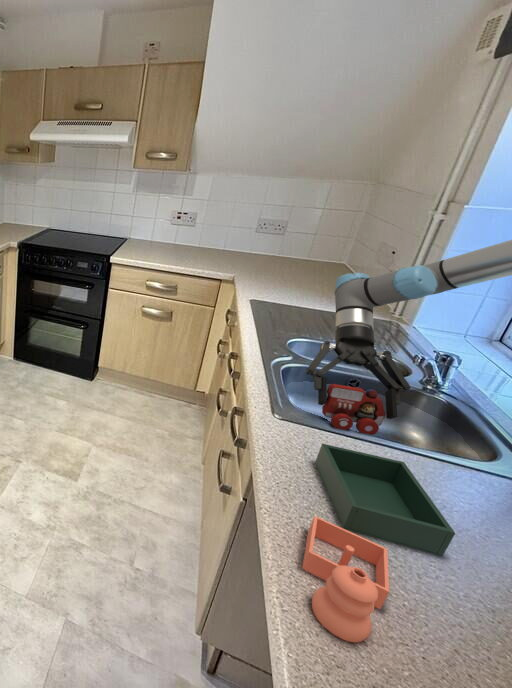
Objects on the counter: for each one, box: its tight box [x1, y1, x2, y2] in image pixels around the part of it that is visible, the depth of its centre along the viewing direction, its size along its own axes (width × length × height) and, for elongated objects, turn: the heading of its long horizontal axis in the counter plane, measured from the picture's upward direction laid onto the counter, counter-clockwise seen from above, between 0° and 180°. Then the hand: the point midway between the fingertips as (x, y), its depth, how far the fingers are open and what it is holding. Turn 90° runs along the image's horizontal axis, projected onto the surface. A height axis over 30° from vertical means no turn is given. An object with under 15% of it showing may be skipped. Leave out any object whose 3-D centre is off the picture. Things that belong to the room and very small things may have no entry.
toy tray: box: [314, 443, 456, 557], centre depth 77 cm, size 14×18×6 cm
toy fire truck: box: [321, 383, 386, 436], centre depth 100 cm, size 7×12×10 cm, turn 72°
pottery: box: [301, 515, 390, 643], centre depth 61 cm, size 18×10×10 cm, turn 140°
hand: (356, 410), depth 99 cm, fingers open, 13 cm apart
